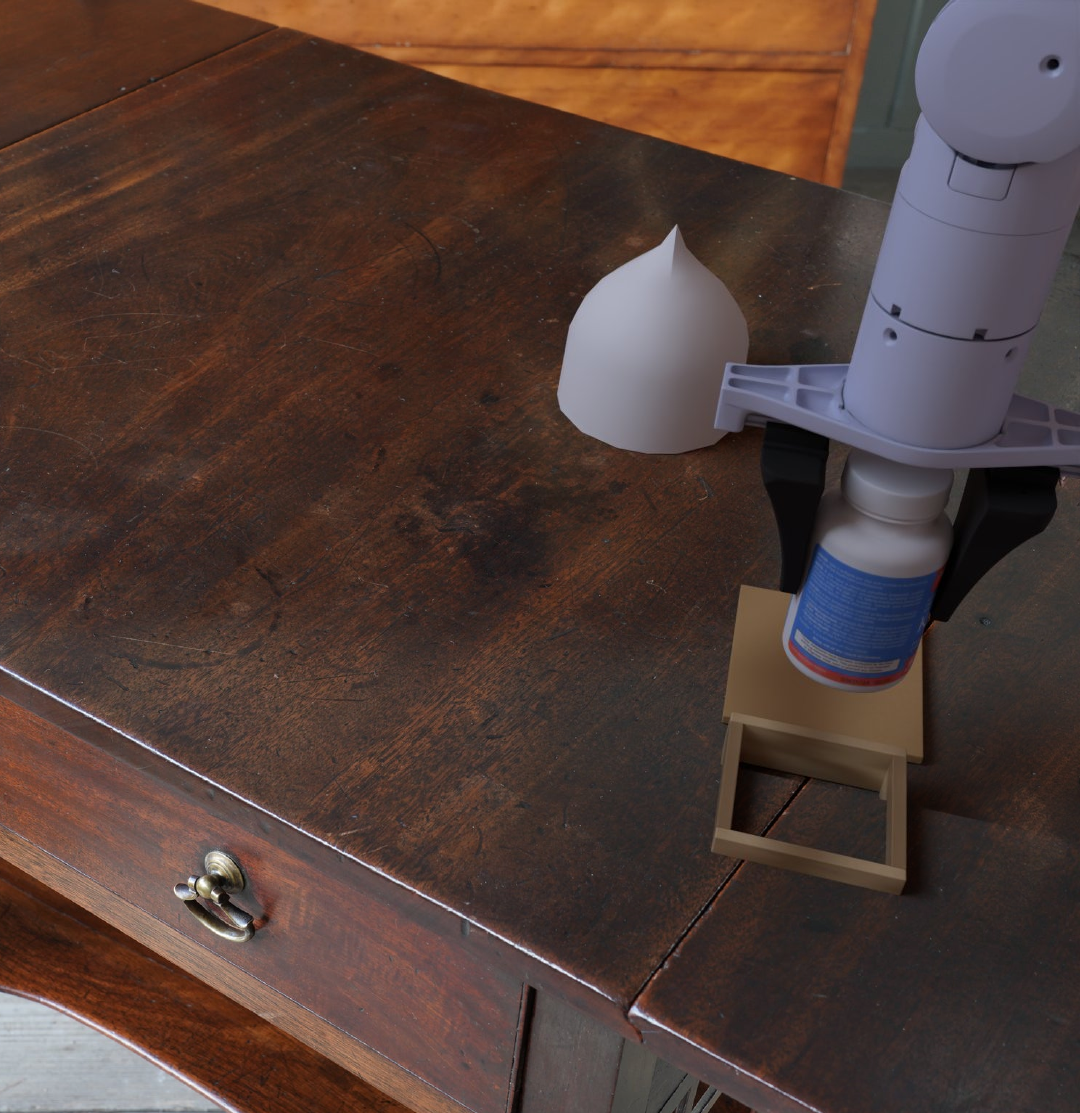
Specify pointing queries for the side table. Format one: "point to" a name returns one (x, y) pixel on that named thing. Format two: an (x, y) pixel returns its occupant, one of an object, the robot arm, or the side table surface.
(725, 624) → the side table surface
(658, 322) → the teardrop
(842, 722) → the pad
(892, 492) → the pill bottle
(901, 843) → the frame
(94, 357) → the side table surface
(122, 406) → the side table surface
